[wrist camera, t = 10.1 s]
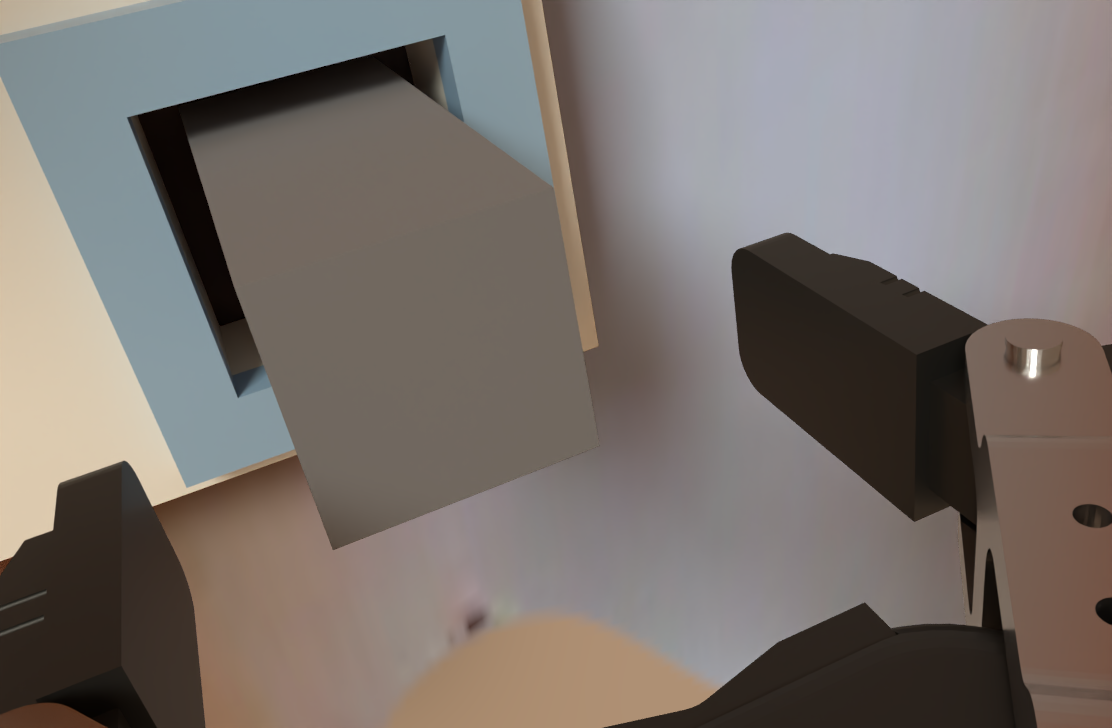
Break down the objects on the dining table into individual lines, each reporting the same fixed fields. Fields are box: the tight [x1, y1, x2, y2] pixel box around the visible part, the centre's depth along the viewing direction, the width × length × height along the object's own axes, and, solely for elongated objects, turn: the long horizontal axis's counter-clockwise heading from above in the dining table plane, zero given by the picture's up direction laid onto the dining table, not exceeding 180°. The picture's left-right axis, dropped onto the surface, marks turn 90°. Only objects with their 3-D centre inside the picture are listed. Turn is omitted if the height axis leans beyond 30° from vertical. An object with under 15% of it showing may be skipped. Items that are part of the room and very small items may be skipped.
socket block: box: [0, 0, 599, 561], centre depth 18 cm, size 21×10×4 cm, turn 101°
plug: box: [178, 56, 600, 550], centre depth 17 cm, size 4×4×10 cm
